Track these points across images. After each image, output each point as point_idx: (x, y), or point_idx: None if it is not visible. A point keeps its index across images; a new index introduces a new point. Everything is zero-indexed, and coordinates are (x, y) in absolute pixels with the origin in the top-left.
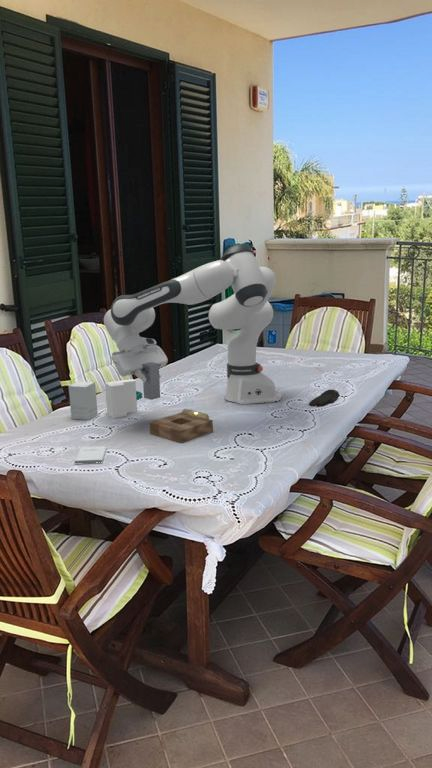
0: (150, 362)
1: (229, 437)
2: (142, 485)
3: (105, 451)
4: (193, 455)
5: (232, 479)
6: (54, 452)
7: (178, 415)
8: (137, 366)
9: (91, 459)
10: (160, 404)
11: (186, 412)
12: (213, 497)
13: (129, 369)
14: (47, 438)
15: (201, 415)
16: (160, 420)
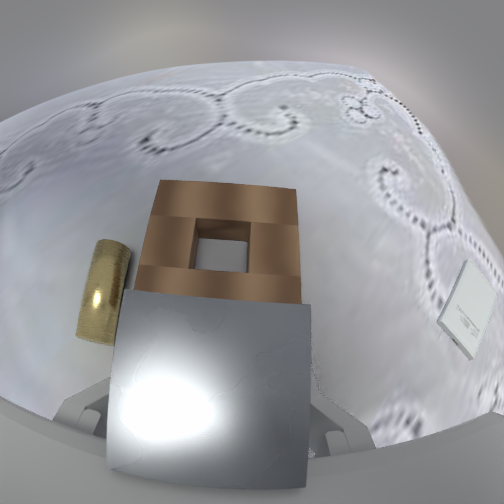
0: (136, 457)
1: (185, 154)
2: (437, 158)
3: (449, 300)
4: (321, 152)
5: (337, 89)
6: (496, 384)
7: None
8: (388, 463)
9: (480, 274)
10: None
11: (105, 317)
12: (382, 92)
13: (475, 423)
14: None
15: (117, 245)
16: None
